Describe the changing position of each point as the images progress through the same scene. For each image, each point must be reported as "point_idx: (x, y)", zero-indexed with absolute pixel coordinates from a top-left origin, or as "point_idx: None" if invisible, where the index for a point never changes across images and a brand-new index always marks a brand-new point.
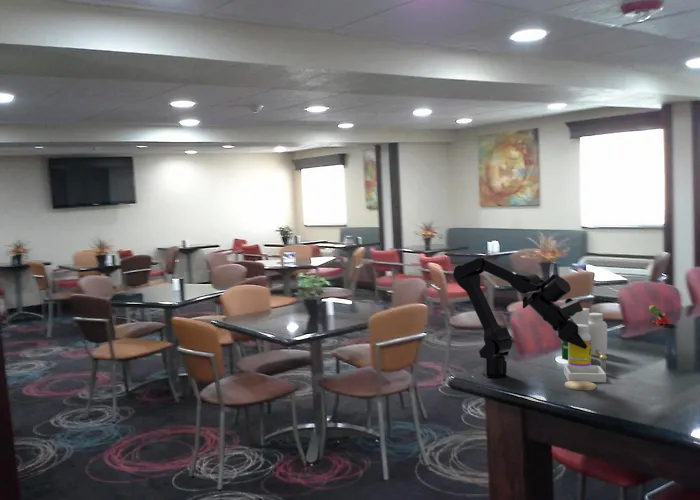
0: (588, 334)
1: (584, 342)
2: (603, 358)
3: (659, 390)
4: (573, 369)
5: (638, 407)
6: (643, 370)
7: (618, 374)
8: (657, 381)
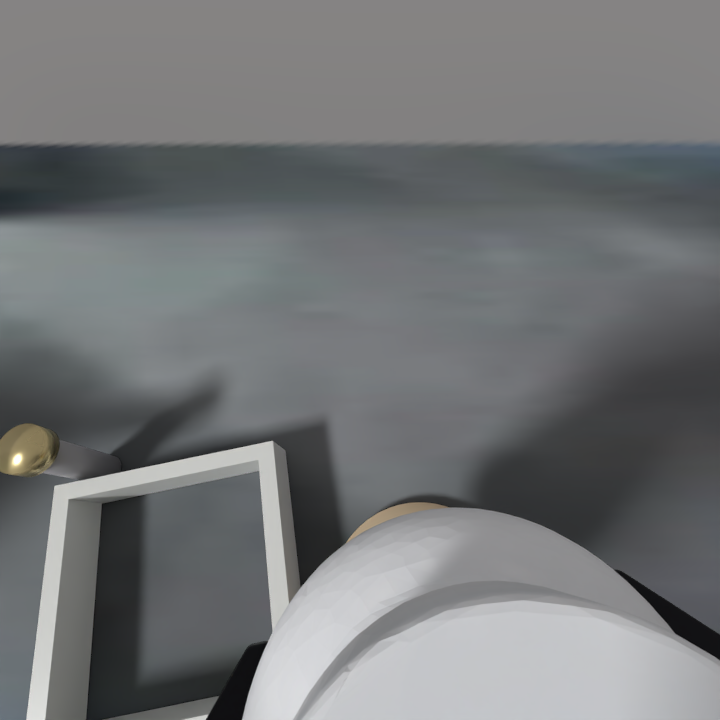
0: (494, 561)
1: (708, 630)
2: (53, 448)
3: (375, 236)
4: (70, 674)
5: (703, 303)
6: (36, 293)
7: (112, 394)
8: (227, 244)
